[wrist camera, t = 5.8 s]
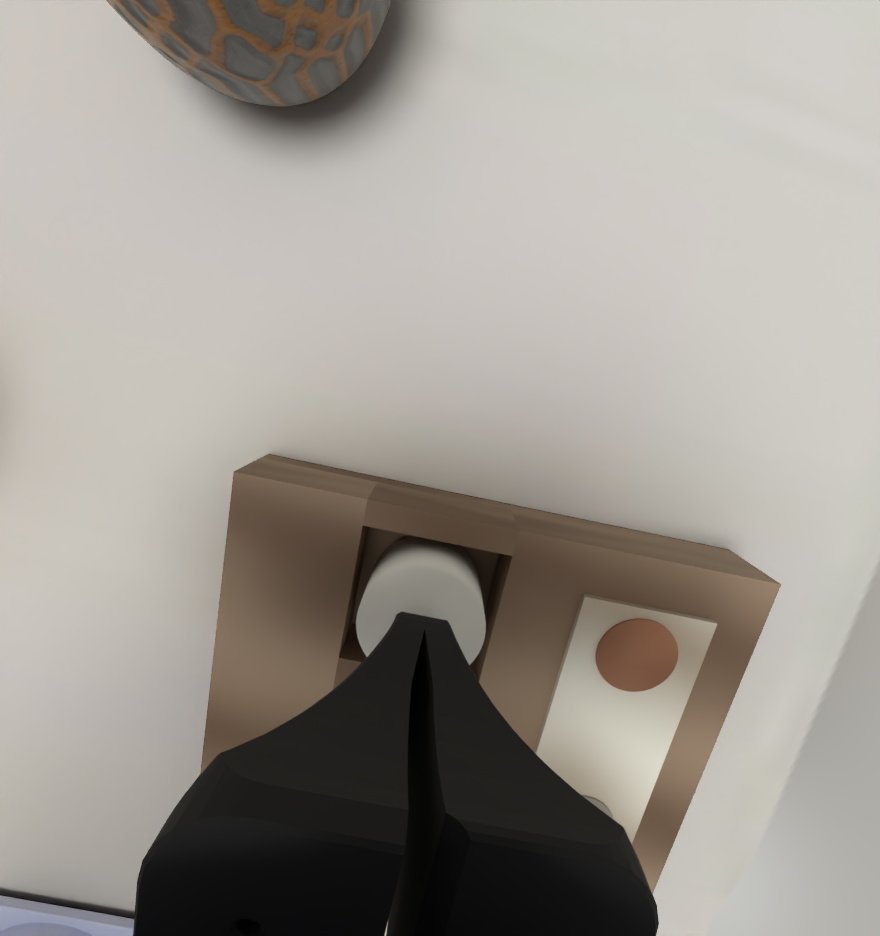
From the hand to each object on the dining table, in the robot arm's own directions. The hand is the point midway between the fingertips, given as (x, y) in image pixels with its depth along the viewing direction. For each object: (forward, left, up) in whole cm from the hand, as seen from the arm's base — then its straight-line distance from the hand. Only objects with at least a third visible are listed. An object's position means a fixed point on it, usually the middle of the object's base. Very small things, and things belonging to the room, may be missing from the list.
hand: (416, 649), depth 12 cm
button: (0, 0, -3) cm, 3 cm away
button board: (-6, -2, -4) cm, 8 cm away
